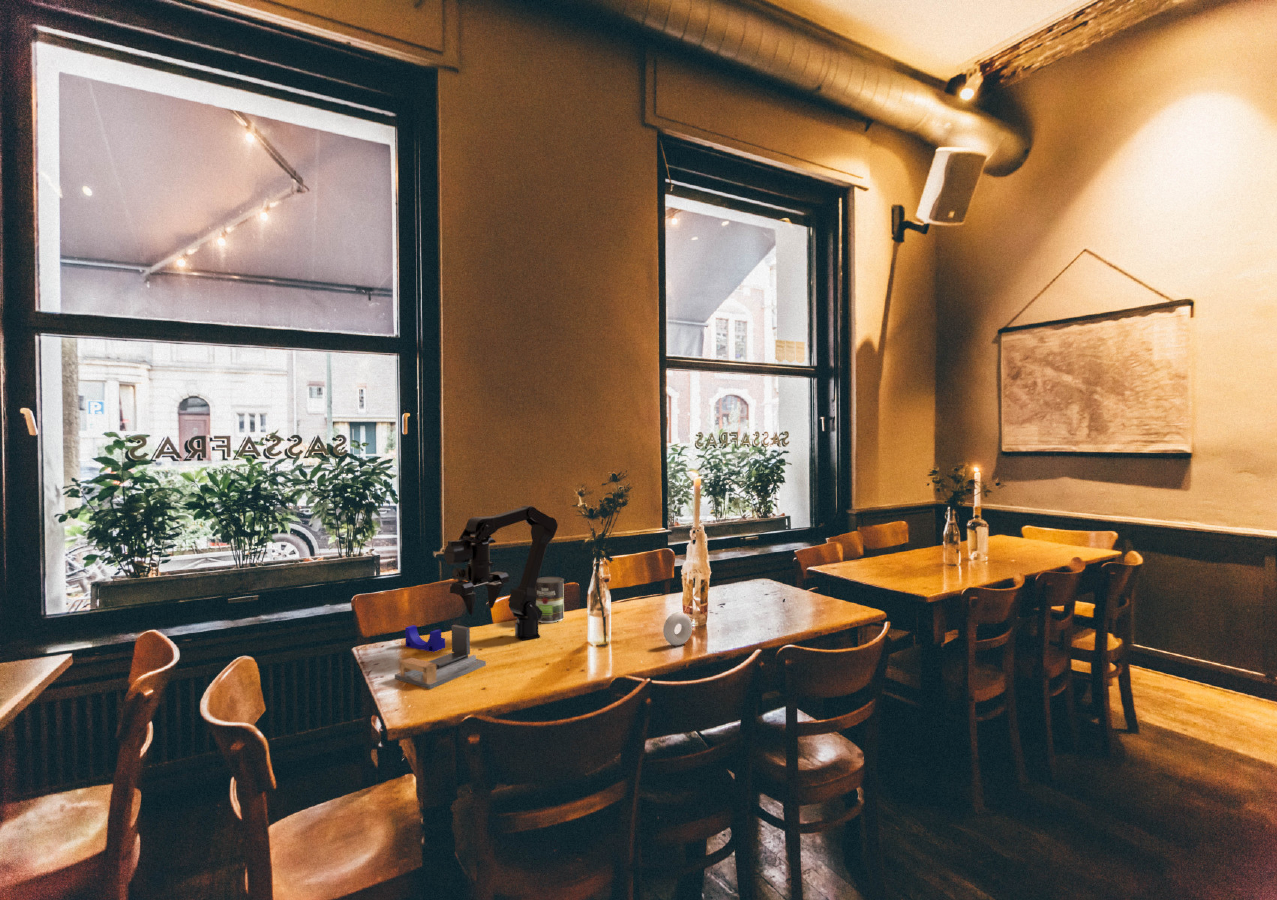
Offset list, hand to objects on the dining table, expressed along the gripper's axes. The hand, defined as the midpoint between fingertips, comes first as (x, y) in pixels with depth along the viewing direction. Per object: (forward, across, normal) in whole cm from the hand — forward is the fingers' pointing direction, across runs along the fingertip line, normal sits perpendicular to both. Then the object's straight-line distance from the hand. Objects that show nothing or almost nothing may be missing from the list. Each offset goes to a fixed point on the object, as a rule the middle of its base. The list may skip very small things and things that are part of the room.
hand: (481, 611), depth 179 cm
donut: (+12, -33, +49) cm, 60 cm away
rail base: (+12, +18, +3) cm, 21 cm away
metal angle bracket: (+10, +15, +3) cm, 19 cm away
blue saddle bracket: (+12, +6, -18) cm, 23 cm away
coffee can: (+12, -36, -4) cm, 38 cm away
